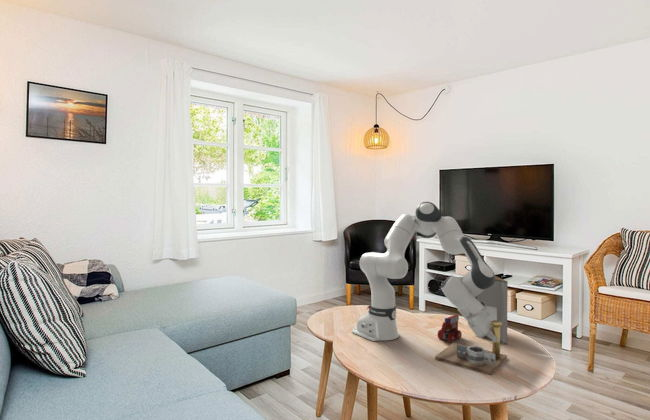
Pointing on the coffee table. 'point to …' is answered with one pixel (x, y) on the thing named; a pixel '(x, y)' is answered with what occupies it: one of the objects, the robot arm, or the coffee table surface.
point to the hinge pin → (497, 332)
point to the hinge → (476, 355)
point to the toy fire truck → (450, 329)
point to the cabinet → (497, 304)
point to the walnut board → (451, 357)
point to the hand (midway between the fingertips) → (497, 339)
